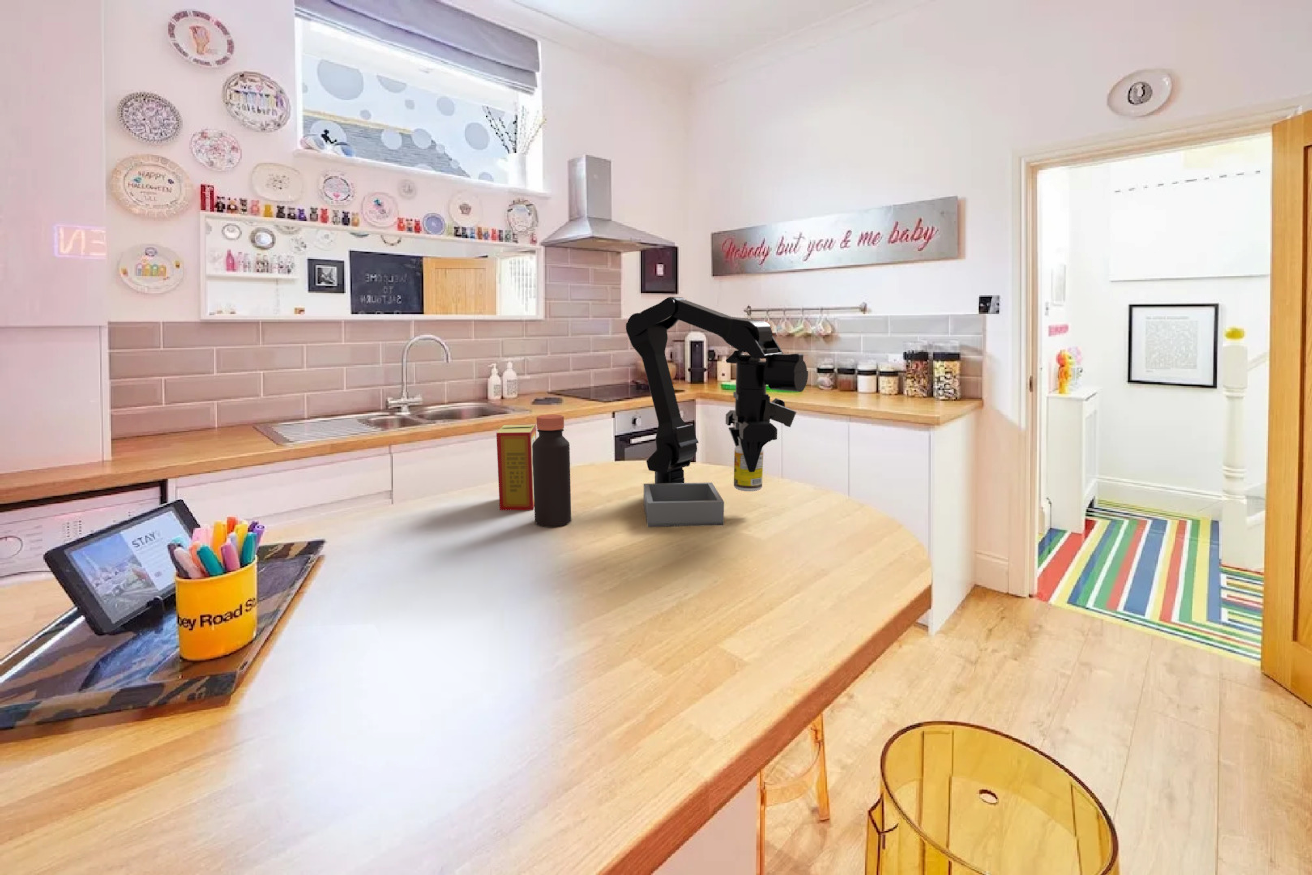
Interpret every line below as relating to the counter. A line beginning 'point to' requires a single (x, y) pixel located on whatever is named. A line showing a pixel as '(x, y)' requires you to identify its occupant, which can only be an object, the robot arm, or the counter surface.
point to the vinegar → (551, 473)
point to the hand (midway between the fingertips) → (748, 468)
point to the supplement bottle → (747, 472)
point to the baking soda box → (516, 466)
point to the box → (683, 504)
